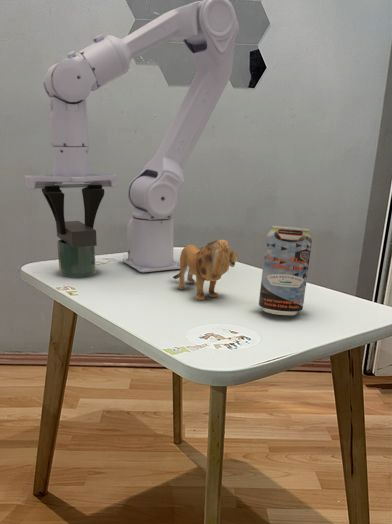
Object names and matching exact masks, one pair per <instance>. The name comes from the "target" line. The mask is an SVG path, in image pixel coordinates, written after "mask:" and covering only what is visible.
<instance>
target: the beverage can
mask: <svg viewBox="0 0 392 524" xmlns="http://www.w3.org/2000/svg"><path fill="white" fill-rule="evenodd" d="M312 239H313V238H312V237H311V234H310V229H309V228H299V227H291V226H279V225H272V226H271V230H269V232H268V233H267V235H266V238H265V247H264V255H263V264H262V270H261V271H262V272H261V281H260V289H259V297H258V306H259V307H261V308H262V310H263V311H264V312H265V313H268V314H272V315H279V316H295V315H297V314H298V312H301V311H303V310H304V304H305V295H306V287H307V280H308V273H309V265H310V258H311V252H312V244H313V240H312Z"/></svg>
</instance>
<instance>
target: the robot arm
mask: <svg viewBox="0 0 392 524" xmlns="http://www.w3.org/2000/svg"><path fill="white" fill-rule="evenodd" d="M239 31H240V25H239V22H238V18H237V14H236V10H235V8H234V5H233V4H232V2H231V1H230V0H199V1H198V0H197V1H194V2H191V3H188V4H185V5H182V6H179V7H177V8H174V9H171V10H169V11H166V12H164V13H163V14H161V15H159V16H158V17H156V18H154V19H153V20H151V21H150V22H148V23H146V24H144V25H143V26H141V27H139V28H138V29H136V30H135V31H133V32H131V33H130V34H127V35H126V36H124V37H123V38H119V37H116V36H115V35H112V34H108V35H106V36H104V35H103V34H102V33H101V34H99V35H97V36H95V37H93V39H92V41H93V43H92V44H90V45H88V46H86V47H85V48H82V49H81V50H79V51H77V52H75V51H74V50H71V51H69V52H68V53H67V54H66V56H67V58H63V59H62V60H61V61H60V62H57V63H55V64H53V65H51V66H49V68H48V69H47V71H46V73H45V76H44V81H42V85H43V88H44V91H45V93H46V95H47V96H48V98H49V111H50V113H49V124H50V141H51V150H52V151H51V153H52V166H53V173H51V174H33V175H24V179H25V180H24V181H25V182H24V183H25V189H27V190H38V189H39V190H41V192H42V195H43V196H44V198H45V200H46V202H47V204H48V206H49V208H50V210H51V212H52V215H53V217H54V221H55V225H56V224H57V228H58V233H59V234H61V235H65V220H66V219H65V193H64V192H63V190H62V189H73V188H74V189H75V188H77V189H78V188H81V194H82V195H81V196H82V201H83V210H84V224H85V225H87V226H89V227H91V228H93V229H94V225H95V221H96V217H97V213H98V210H99V207H100V204H101V203H102V201H103V198H104V196H105V189H104V188H117V187H118V174H115V173H91V165H90V163H91V162H90V146H89V145H90V143H89V142H90V141H89V120H88V119H89V117H88V111H87V98H88V97H89V95H90V93H91V92H95V91H98V90H99V89H100V88H102V87H104V86H106V85H108V84H110V83H111V82H113V81H114V80H117V79H118V78H120V77H121V76H124V75H125V74H127V73H128V72H129V69H130V65H131V62H132V60H133V59H134V58H136V57H139V56H140V55H142V54H145V53H146V52H149V51H150V50H152V49H155V48H156V47H158V46H160V45H161V44H164V43H166V42H167V41H170V40H171V41H174V42H181V41H182V42H183V44H184V45H185V48H187V50H188V52H189V53H190V55H191V56H192V58H193V60H194V63H195V66H196V67H195V68H196V74H195V76H194V78H193V80H192V82H191V84H190V86H189V88H188V89H187V92H186V93H185V96H184V97H183V100H182V102H181V104H180V106H179V107H178V110H177V111H176V113H175V115H174V118H173V120H171V121H172V122H171V124H170V125H169V127H168V129H167V131H166V133H165V135H164V137H163V140H162V141H161V143H160V145H159V147H158V149H157V150H156V151H157V152H156V153H155V155H154V156H153V157H152V158H151V159H150V160H148V161H147V163H146V164H145V165H144V166H143V169H142V171H141V172H140V173H139V174H138V175H137V176H135V177H134V178H133V179H132V180H131V181H130V183H129V185H128V187H127V198H128V201H129V203H130V204H131V205H132V207H133V211H132V214H131V215H132V217H131V218H130V219H129V221H128V223H127V226H126V245H127V252H126V253H127V258H122V261H123V263H125V264H127V265H128V266H130V267H131V268H133V269H134V270H136V271H138V272H140V273H148V272H149V273H150V272H151V273H152V272H160V271H161V272H163V271H170V270H171V271H172V270H180V263H177V262H176V261H174V251H175V249H174V245H175V244H174V240H175V238H174V235H175V231H174V228H175V227H174V226H175V225H174V224H175V221H174V220H175V211H176V210H177V209H178V207H179V204H180V197H181V196H180V193H181V189H182V187H183V185H184V184H185V178H184V169H185V166H187V165H186V164H187V163H188V162H189V159H190V157H191V155H192V153H193V152H194V149H195V147H196V146H197V144H198V142H199V140H200V137H201V136H202V134H203V131H204V130H205V128H206V125H207V124H208V122H209V120H210V118H211V116H212V114H213V112H214V110H215V108H216V106H217V104H218V102H219V100H220V98H221V97H222V95H223V92H224V91H225V89H226V87H227V85H228V83H229V81H230V79H231V76H232V74H233V67H234V53H235V43H236V41H235V40H236V37H237V35H238V32H239ZM65 183H66V184H65Z"/></svg>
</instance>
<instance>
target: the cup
mask: <svg viewBox="0 0 392 524" xmlns="http://www.w3.org/2000/svg"><path fill="white" fill-rule="evenodd" d="M56 243H57V244H56V245H57V257H58V270H59V274H60V276H62V277H66V278H86V277H87V278H88V277H92V276H94V275H95V274H96V273H97V272H96V270H97V265H96V264H97V263H96V246H86V247H71V246H70V245H68V244H67V243H66V242H64V241H63V240H61V239H57V242H56Z"/></svg>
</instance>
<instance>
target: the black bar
mask: <svg viewBox="0 0 392 524" xmlns="http://www.w3.org/2000/svg"><path fill="white" fill-rule="evenodd" d="M55 227H56V228H55V229H56V237H57V238H58V239H59V240H63V241H64V242H66V243H67V244H68V245H70V246H71V247H86V246H95V247H96V246H97V245H98V243H97V242H98V241H97V230H96V229H95V228H94V227H93V228H91V227H89V226H87V225H85V222H81V221H79V220H67V221H65V235H61V234H59V233H58V228H57V224H56V223H55Z"/></svg>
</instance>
